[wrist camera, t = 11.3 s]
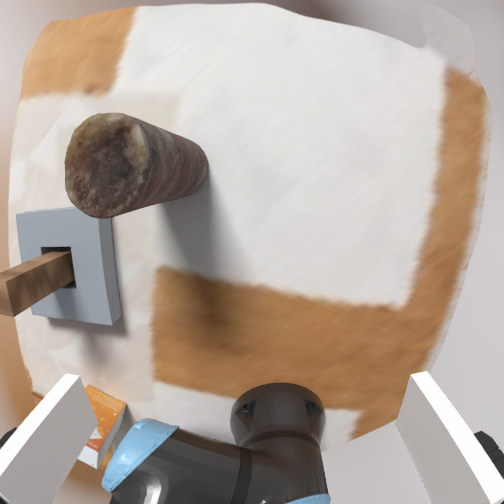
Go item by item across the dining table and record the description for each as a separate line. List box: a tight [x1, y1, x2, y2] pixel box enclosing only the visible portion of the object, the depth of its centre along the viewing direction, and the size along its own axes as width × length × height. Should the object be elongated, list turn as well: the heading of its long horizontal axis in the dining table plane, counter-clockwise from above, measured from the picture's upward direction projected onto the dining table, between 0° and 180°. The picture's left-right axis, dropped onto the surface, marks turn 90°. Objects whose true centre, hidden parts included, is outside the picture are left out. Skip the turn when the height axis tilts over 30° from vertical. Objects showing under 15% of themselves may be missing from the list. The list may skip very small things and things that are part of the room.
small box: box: [78, 384, 126, 469], centre depth 39 cm, size 8×6×13 cm
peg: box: [0, 248, 75, 317], centre depth 31 cm, size 4×4×16 cm
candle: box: [65, 113, 208, 219], centre depth 26 cm, size 8×7×20 cm
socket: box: [16, 207, 122, 325], centre depth 37 cm, size 16×16×4 cm
